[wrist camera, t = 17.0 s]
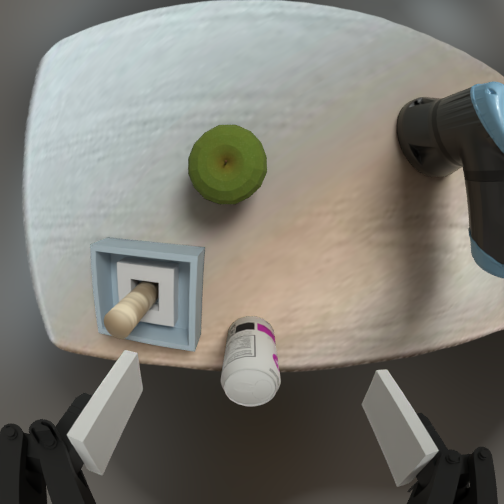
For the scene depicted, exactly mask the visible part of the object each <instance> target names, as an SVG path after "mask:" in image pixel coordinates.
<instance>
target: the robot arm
mask: <svg viewBox="0 0 504 504" xmlns="http://www.w3.org/2000/svg"><path fill="white" fill-rule="evenodd" d="M397 133H398V139H399V142H400V145H401V148H402V151H403V153H404V154H405V156H406V158H407V159H408V161H409V162H410V163H411V165H412V166H413V167H414V168H415V169H416V170H418V171H419V172H420V173H422V174H424V175H426V176H430V177H444V176H448V175H450V174H452V173H453V172H455V171H457V170H458V169H460V168H461V167H463V171H464V177H465V185H466V193H467V202H468V213H469V236H470V241H471V253H472V257H473V258H474V260H475V262H476V263H477V265H478V266H479V267H480V268H482V269H483V270H484V271H486V272H488V273H490V274H492V275H494V276H497V277H500V278H504V84H501V83H499V82H488V83H484V84H476V85H474V86H472V87H471V88H468V89H465V90H463V91H460V92H458V93H455V94H452V95H450V96H447V97H445V98H443V99H439V98H429V97H421V98H416V99H414V100H412V101H410V102H408V103H407V104H406V105H405V106H404V107H403V108H402V110H401V111H400V114H399V117H398V122H397ZM142 391H143V387H142V381H141V375H140V367H139V360H138V353H136V352H132V351H127V350H125V351H124V352H123V353H122V355H121V356H120V357H119V359H118V360H117V362H116V363H115V364H114V366H113V367H112V369H111V370H110V372H109V373H108V374H107V376H106V377H105V379H104V380H103V381H102V383H101V384H100V386H99V387H98V389H97V390H96V392H95V393H94V395H93V396H91V395H88V394H86V393H83V394H81V395H80V396H78V397H77V398H76V399H75V400H74V401H73V403H72V404H71V406H70V407H69V408H68V410H67V412H66V413H65V414H64V415H63V417H62V418H61V419H60V421H59V423H58V424H57V425H56V427H55V426H54V424H53V423H52V422H50V421H48V420H43V419H40V420H37V421H35V422H33V423H32V424H31V426H30V427H29V433H30V434H27V433H24V432H23V431H22V429H21V428H20V427H19V426H18V425H16V424H7V425H5V426H4V427H3V428H2V429H1V431H0V504H47V494H46V486H47V489H48V492H49V495H50V498H51V501H52V504H96V502H95V500H94V498H93V496H92V493H91V491H90V489H89V486H88V484H87V482H86V479H85V477H84V474H83V472H82V470H81V468H82V466H83V464H84V465H85V466H86V468H87V469H88V470H90V471H92V472H95V473H97V474H100V475H103V473H104V471H105V468H106V466H107V464H108V462H109V460H110V457H111V455H112V453H113V451H114V449H115V447H116V444H117V442H118V440H119V438H120V436H121V434H122V431H123V429H124V427H125V425H126V423H127V421H128V419H129V417H130V415H131V413H132V411H133V409H134V407H135V405H136V403H137V401H138V399H139V397H140V394H141V392H142ZM362 406H363V409H364V411H365V413H366V415H367V417H368V420H369V422H370V424H371V426H372V428H373V431H374V433H375V435H376V438H377V440H378V442H379V445H380V447H381V449H382V452H383V454H384V456H385V459H386V461H387V463H388V466H389V468H390V470H391V473H392V475H393V478H394V480H395V483H396V485H397V487H398V486H401V485H404V484H408V483H410V482H411V481H412V480H413V479H414V478H415V477H417V480H418V481H417V482H416V483H415V484H414V485H413V486H412V487H411V488H410V489H409V490H408V492H410V491H411V490H412V489H413V491H412V493H411V496H410V498H409V500H408V502H407V504H498V500H497V488H496V479H495V472H494V465H493V459H492V454H491V452H490V451H489V450H488V449H487V448H485V447H478V448H477V449H475V450H474V452H473V453H472V454H467V455H461V454H459V453H458V452H457V451H455V450H448V449H447V448H446V446H445V444H444V443H443V441H442V439H441V438H440V436H439V435H438V433H437V432H436V431H435V429H434V427H433V426H432V424H431V422H430V421H429V419H428V418H427V417H426V416H424V415H423V414H422V413H418V414H416V413H415V411H414V410H413V408H412V406H411V405H410V403H409V402H408V400H407V399H406V397H405V396H404V394H403V393H402V391H401V389H400V388H399V386H398V385H397V383H396V382H395V381H394V379H393V377H392V376H391V375H390V373H389V371H388V370H376V372H375V375H374V377H373V379H372V382H371V384H370V387H369V389H368V392H367V393H366V396H365V398H364V400H363V403H362ZM469 483H470V487H469Z"/></svg>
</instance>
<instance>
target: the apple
mask: <svg viewBox="0 0 504 504" xmlns="http://www.w3.org/2000/svg"><path fill="white" fill-rule="evenodd" d="M266 173H267V158H266V154H265V152H264V149H263V146H262V143H261V142H260V141H259V140H258V139H257V138H256V137H255V135H254V134H253V133H252V132H251V131H249V130H247V129H244V128H242V127H240V126H237V125H218V126H216V127H214V128H213V129H211V130H209V131H207V132H205V133H204V134H203V135H202V136H201V137H200V138H199V139H198V140H197V141H196V143H195V144H194V146H193V148H192V151H191V153H190V156H189V159H188V174H189V176H190V179H191V181H192V184H193V186H194V188H195V189H196V190H197V191H198V192H199V193H200V194H201V195H202V196H203V197H204V199H207V200H210V201H212V202H215V203H218V204H237V203H239V202H241V201H243V200H245V199H247V198H249V197H250V196H251V195H252V194H253V193H254V192H255V191H256V190H257V189H259V188H260V187H261V185H262V182H263V180H264V178H265V175H266Z"/></svg>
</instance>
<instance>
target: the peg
mask: <svg viewBox="0 0 504 504" xmlns="http://www.w3.org/2000/svg"><path fill="white" fill-rule="evenodd" d="M158 298H159V283H157V282H149V281H142V282H141V283H140V284H138V285H137V286H136V287H135V288H134V289H133V290H132V291H131V292H130V293H128V294H127V295H126V296H125V297H124V298H123V299H122V300H121V301H120V302H119V303H118V304H116V305H115V306H114V307H113V308H112V309H111V310H110V311H109V312H108V313H107V314H106V315H105V317H104V325H105V328H106V330H107V331H108V332H109V333H110V334H111V335H112V336H113V337H115V338H118V339H124V338H126V337H128V335H129V334H130V333H131V332H132V330H133V329H134V328H135V327H136V325H137V324H138V323H139V321H140V320H141V319H142V318H143V316H144V315H145V314H146V313H147V311H148V310H149V309H150V308H151V307H152V305H153V304H154V303H155V302H156V300H157V299H158Z"/></svg>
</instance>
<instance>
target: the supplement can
mask: <svg viewBox="0 0 504 504" xmlns="http://www.w3.org/2000/svg"><path fill="white" fill-rule="evenodd" d="M220 381H221V384H222V388H223V389H224V391H225V393H226V395H227V396H228V397H229V399H230V400H232V401H233V402H235V403H237V404H240V405H244V406H257V405H262V404H264V403H266V402H268V401H270V400H271V399H272V398H273V396H274V395H275V393H276V392H277V390H278V388H279V386H280V383H281V380H280V372H279V365H278V358H277V351H276V343H275V336H274V330H273V328H272V326H271V325H270V323H268V322H267V321H266V320H265V319H263V318H260V317H257V316H246V317H242V318H239V319H238V320H236V321H235V322H233V324H232V325H231V327H230V328H229V331H228V337H227V343H226V349H225V355H224V361H223V368H222V374H221V380H220Z"/></svg>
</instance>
